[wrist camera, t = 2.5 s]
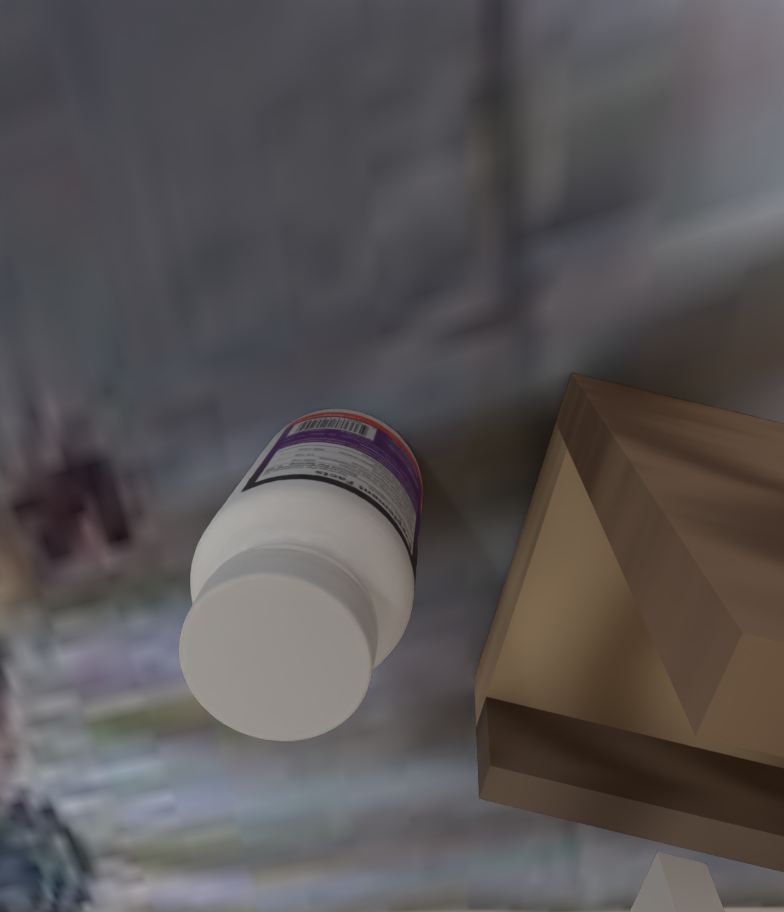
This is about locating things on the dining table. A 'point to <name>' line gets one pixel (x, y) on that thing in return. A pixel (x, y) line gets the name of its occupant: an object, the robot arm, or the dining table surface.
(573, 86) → the dining table surface
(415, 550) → the pill bottle
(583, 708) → the cleat board
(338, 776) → the dining table surface
